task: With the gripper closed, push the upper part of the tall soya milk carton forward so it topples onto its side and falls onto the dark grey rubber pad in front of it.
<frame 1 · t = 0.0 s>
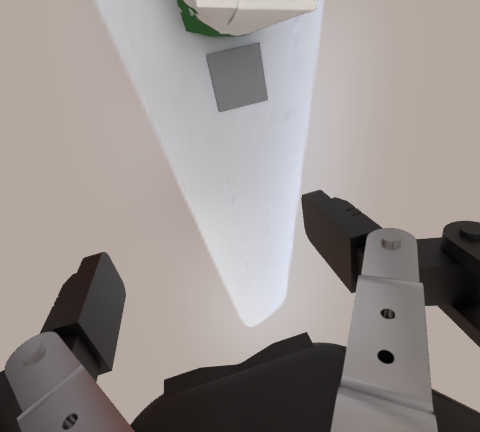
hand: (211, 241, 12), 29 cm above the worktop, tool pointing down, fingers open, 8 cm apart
rubber pad: (238, 78, 37), on the worktop
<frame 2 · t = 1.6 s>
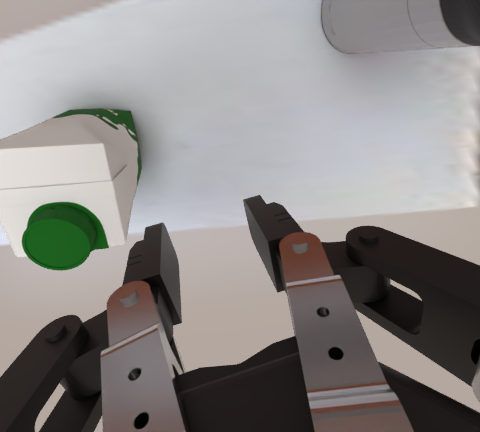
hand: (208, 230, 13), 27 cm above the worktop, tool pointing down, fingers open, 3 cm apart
soya milk: (106, 141, 36), on the worktop
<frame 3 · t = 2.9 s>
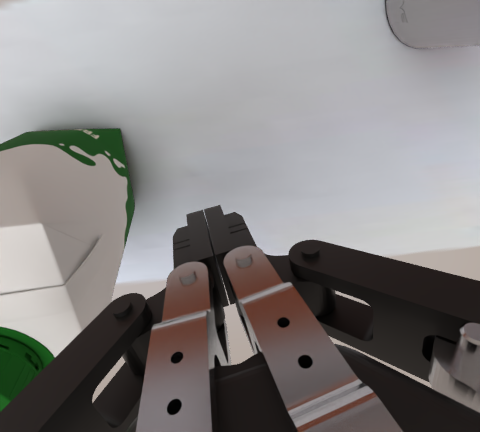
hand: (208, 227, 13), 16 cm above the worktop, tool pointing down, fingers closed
soya milk: (87, 169, 26), on the worktop
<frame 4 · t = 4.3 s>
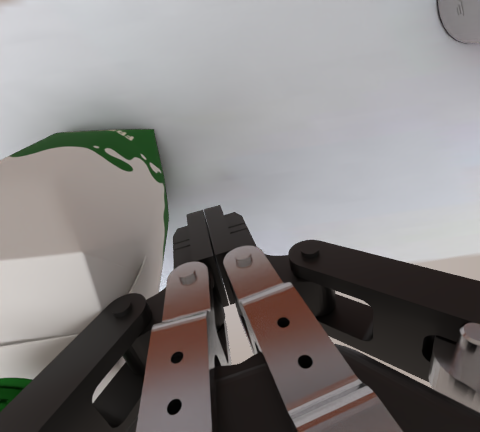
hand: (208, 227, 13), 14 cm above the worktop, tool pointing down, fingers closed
soya milk: (117, 173, 24), on the worktop, touching hand
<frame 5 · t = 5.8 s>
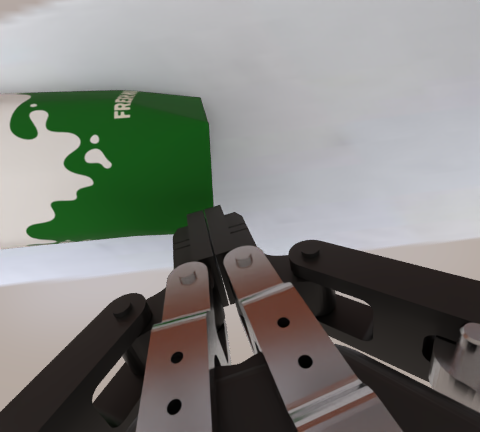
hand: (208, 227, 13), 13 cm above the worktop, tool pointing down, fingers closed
soya milk: (210, 160, 20), point 5 cm above the worktop, touching rubber pad
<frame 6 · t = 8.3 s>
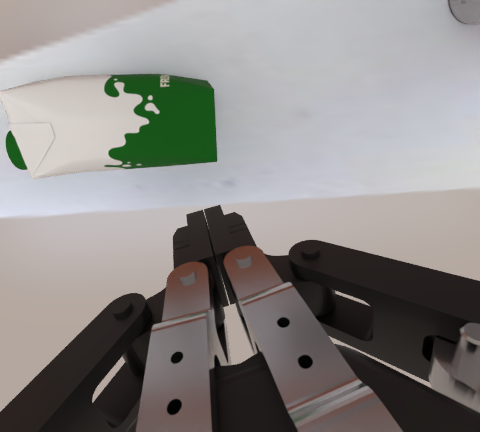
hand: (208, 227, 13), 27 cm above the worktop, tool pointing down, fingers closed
soya milk: (214, 119, 32), point 5 cm above the worktop, touching rubber pad
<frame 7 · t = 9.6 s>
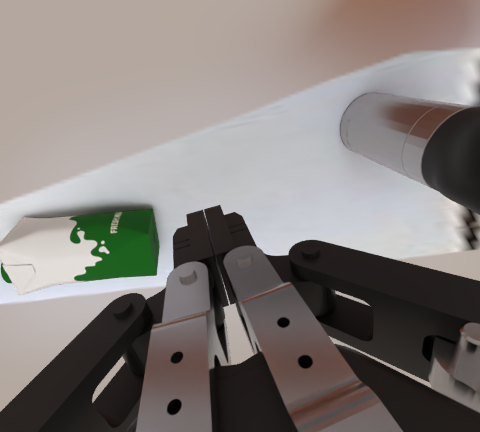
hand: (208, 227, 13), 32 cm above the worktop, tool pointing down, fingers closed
soya milk: (156, 240, 43), point 5 cm above the worktop, touching rubber pad
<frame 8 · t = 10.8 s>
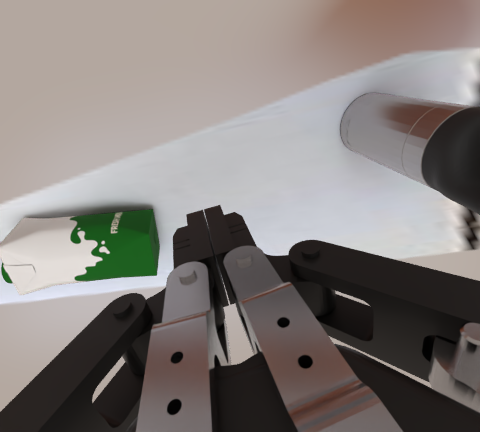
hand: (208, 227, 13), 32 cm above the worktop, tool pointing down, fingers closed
soya milk: (156, 240, 43), point 5 cm above the worktop, touching rubber pad
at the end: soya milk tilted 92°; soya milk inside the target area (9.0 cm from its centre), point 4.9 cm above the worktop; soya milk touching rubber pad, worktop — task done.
